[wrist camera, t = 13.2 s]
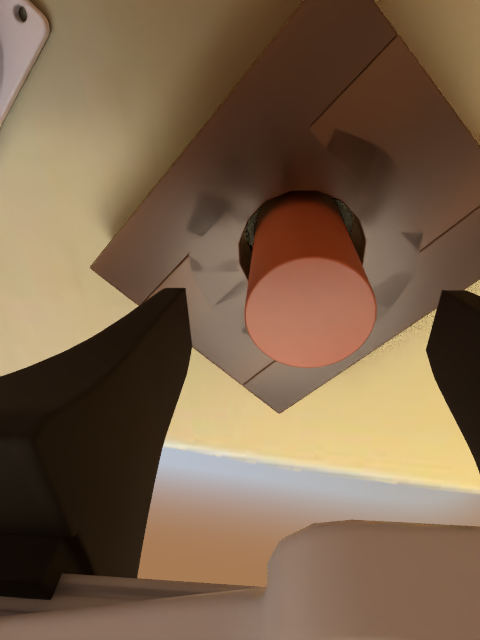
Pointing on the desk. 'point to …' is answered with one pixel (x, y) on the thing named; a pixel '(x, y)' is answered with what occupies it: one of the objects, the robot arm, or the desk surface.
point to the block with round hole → (312, 189)
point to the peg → (306, 283)
